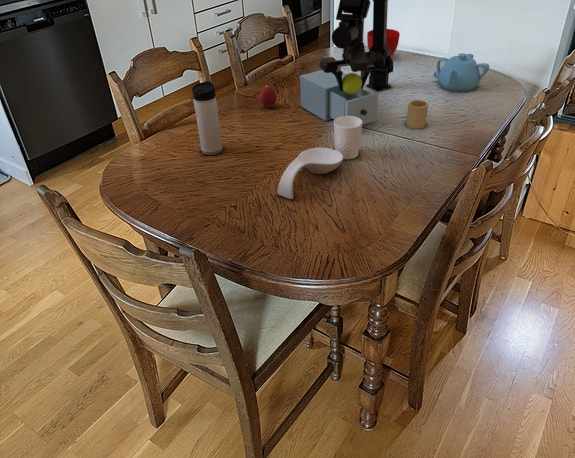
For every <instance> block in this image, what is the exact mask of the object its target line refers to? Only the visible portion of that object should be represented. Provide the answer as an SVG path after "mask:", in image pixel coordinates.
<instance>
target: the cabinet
mask: <svg viewBox="0 0 575 458" xmlns="http://www.w3.org/2000/svg"><path fill="white" fill-rule="evenodd" d="M347 74H348V73H344V72H343V74H342V79H343V77H344V76H345V75H347ZM299 78H300V79H299V84H300V85H299V87H300V89H299V90H300V107H301V108H302V109H304V110H306V111H308V112H310V113H311V114H312V115H315V116H316V117H318V118H319V119H320V120H323V121H325V122H327V121H330V120H334V119H333V118H331V117H329V116H328V91H330V90H333V89H337V88H339V86H338V83H337V80H336V77H335V75H334V74H332V73H324V71H323V70H322V69H320V70H317V71H313V72H308V73H304V74H301V75H299Z"/></svg>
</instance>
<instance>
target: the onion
mask: <svg viewBox="0 0 575 458" xmlns="http://www.w3.org/2000/svg"><path fill="white" fill-rule="evenodd" d="M258 97H259V98H258V99H259V102H260V104H262V105H263V106H264V107H265V108H266V109H270V108H271V107H272V106H274V105H275V104H276V102H277V98H278V97H277V93H276V92H275V90H274V89H273V88H272V87H270V86H269V85H267V84H265V87H264V88H262V90H261V91H260V93H259V96H258Z"/></svg>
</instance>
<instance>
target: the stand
mask: <svg viewBox="0 0 575 458" xmlns="http://www.w3.org/2000/svg"><path fill="white" fill-rule="evenodd" d="M428 109H429V103H428V101H426V100H422V99H412V100H410V101H408V104H407V114H406V120H405V122H406V123H405V125H406V126H407V127H408V128H409V129H413V130H414V129H415V130H417V129H418V130H419V129H423V128H425V127H426V123H427V116H428Z"/></svg>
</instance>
